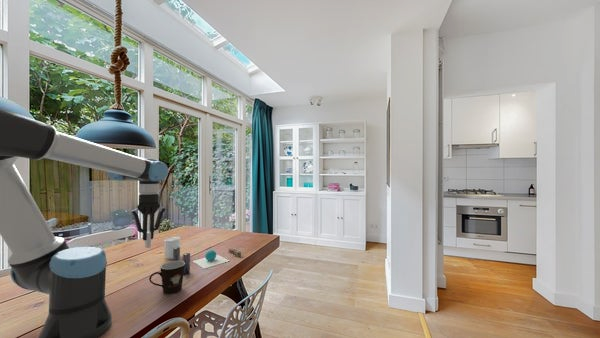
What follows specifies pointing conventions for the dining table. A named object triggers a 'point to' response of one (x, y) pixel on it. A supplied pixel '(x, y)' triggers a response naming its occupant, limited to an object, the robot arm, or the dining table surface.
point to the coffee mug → (171, 276)
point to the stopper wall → (234, 252)
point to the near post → (186, 263)
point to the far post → (176, 254)
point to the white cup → (171, 246)
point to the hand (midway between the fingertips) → (147, 247)
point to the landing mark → (210, 262)
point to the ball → (210, 255)
